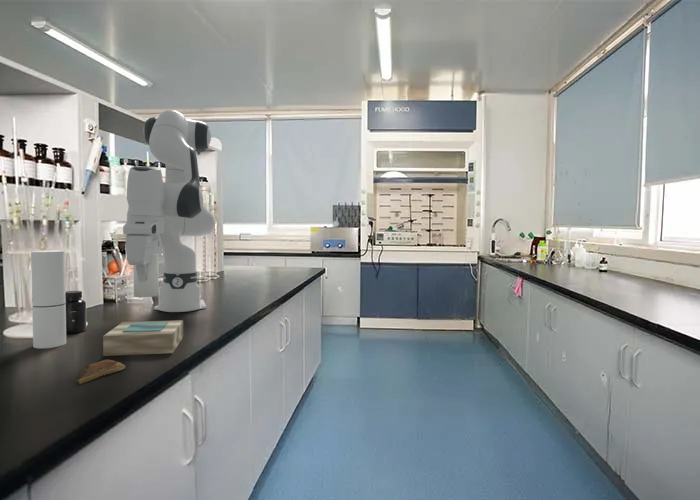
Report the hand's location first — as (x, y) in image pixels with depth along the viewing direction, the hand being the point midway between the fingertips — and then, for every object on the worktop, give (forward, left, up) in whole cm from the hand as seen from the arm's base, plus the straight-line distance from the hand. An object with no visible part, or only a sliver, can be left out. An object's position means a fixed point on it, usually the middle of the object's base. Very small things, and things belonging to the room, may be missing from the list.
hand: (146, 279), depth 110 cm
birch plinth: (0, 0, -18) cm, 18 cm away
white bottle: (0, 0, -4) cm, 4 cm away
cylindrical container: (-5, -25, -18) cm, 31 cm away
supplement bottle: (-19, -25, -18) cm, 36 cm away
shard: (+20, -4, -19) cm, 28 cm away
